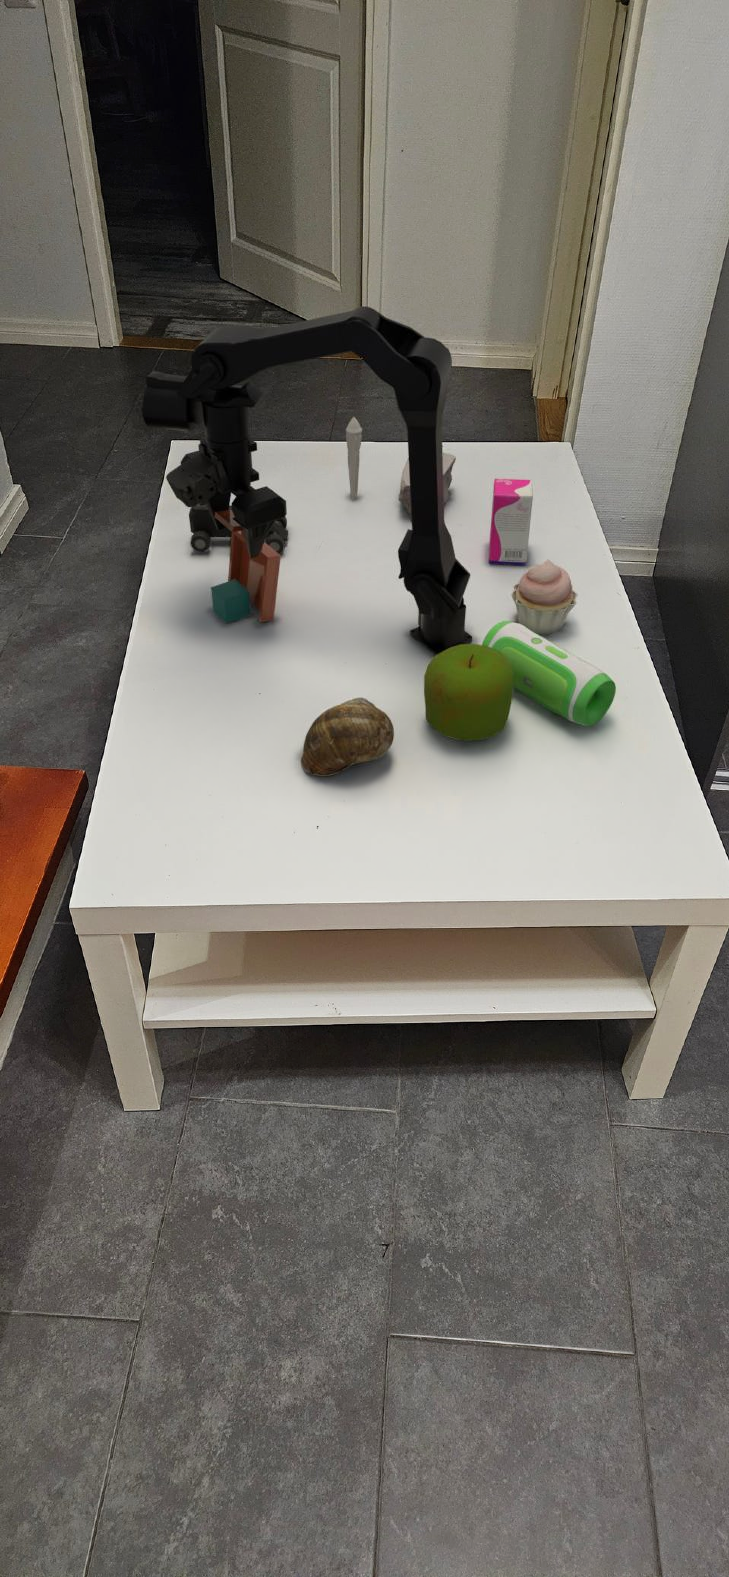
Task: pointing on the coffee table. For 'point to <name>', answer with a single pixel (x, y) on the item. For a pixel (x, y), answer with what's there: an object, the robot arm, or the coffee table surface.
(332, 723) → the seashell
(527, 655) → the speaker
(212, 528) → the toy vehicle
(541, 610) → the cupcake
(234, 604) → the block
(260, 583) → the orange handled tray
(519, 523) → the supplement box
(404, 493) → the decorative stone
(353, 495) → the grey pointed rod
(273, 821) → the coffee table surface
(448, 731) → the apple
